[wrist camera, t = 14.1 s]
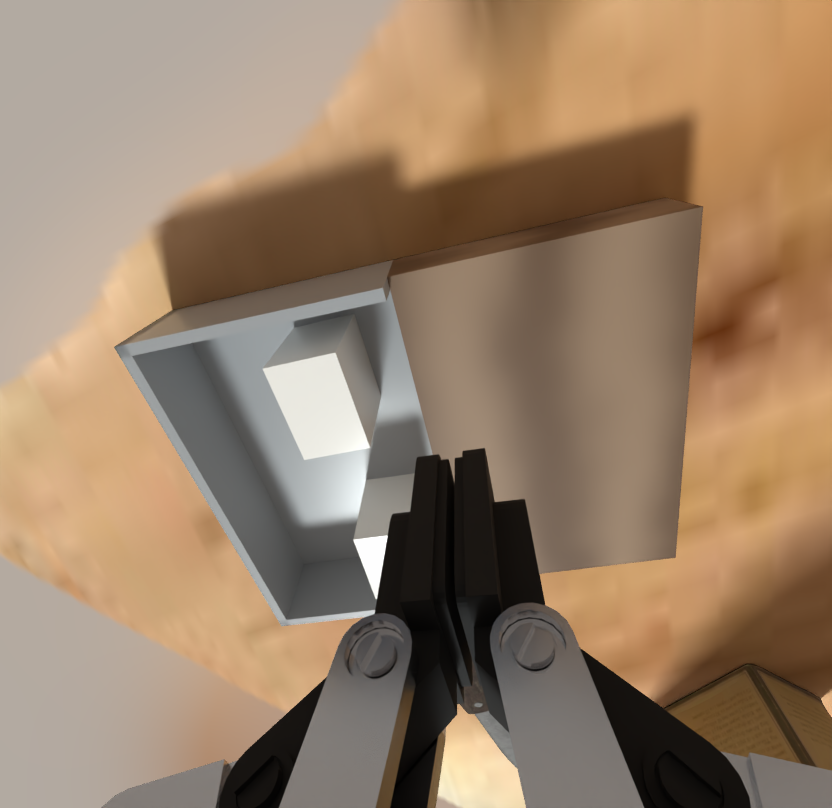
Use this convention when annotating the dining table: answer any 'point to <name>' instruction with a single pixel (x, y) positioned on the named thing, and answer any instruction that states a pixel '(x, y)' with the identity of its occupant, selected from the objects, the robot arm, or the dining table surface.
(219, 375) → the tray
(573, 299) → the board
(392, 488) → the tile
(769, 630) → the dining table surface
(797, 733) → the food packaging
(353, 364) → the white rectangular block
